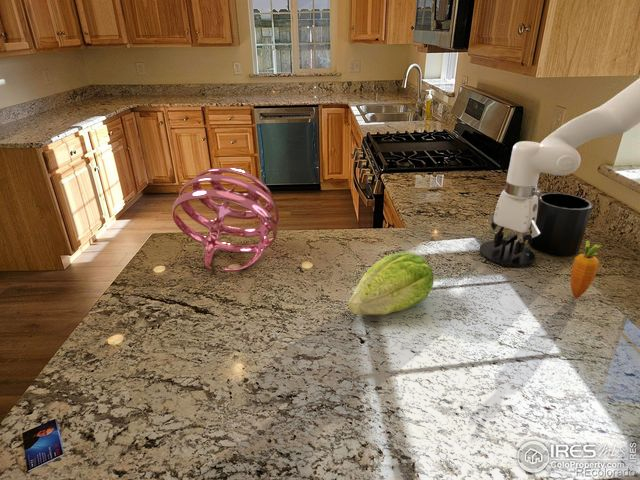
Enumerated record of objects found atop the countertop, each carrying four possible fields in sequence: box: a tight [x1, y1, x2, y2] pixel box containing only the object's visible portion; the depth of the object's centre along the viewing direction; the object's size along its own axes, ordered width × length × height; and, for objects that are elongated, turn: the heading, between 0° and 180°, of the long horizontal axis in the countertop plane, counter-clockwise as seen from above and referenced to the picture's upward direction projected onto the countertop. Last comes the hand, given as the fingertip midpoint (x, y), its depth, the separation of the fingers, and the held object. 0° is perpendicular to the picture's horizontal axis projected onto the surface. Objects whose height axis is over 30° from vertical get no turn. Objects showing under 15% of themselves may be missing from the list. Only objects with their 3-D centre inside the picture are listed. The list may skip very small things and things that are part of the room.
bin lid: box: [478, 232, 536, 267], centre depth 121 cm, size 15×15×6 cm
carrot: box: [570, 240, 602, 299], centre depth 99 cm, size 5×5×15 cm
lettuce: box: [347, 252, 435, 316], centre depth 97 cm, size 13×22×14 cm
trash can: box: [527, 192, 593, 258], centre depth 124 cm, size 14×14×14 cm
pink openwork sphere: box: [171, 167, 280, 273], centre depth 114 cm, size 28×28×27 cm
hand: (507, 249), depth 121 cm, fingers open, 5 cm apart
